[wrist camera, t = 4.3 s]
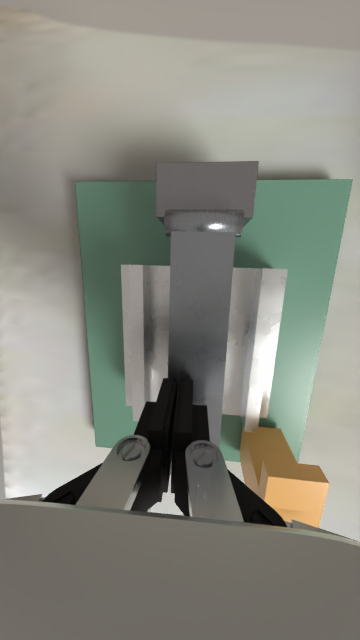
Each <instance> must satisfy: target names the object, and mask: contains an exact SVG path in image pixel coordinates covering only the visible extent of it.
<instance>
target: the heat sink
mask: <svg viewBox="0 0 360 640" xmlns="http://www.w3.org/2000/svg"><path fill="white" fill-rule="evenodd" d="M258 163H259V161H241V162H181V163H157V175H156V217H157V218H158V219H159V220H160V221H161V223H162V224H163V225H164V215H165V210H166V209H199V210H244V226H245V225H246V224H247V223H248V222H249V221H250V220H251V219H252V218H253V213H254V203H255V193H256V183H257V173H258ZM244 226H243V227H244ZM287 272H288V269H271V268H233V274H232V287H231V300H230V313H229V327H228V340H227V353H226V366H225V379H224V392H223V405H222V414H227V415H238V416H240V417H241V421H242V425H243V428H244V431H245V432H255V433H257V431H258V424H259V417H261V418H267V413H268V406H269V399H270V392H271V385H272V378H273V371H274V364H275V357H276V350H277V342H278V335H279V328H280V321H281V314H282V307H283V300H284V293H285V286H286V279H287ZM121 283H122V310H123V338H124V365H125V392H126V406H132V407H133V421H139V419H140V416H141V413H142V411H143V408H144V406H145V403H146V402H147V401H150V402H156V400H157V397H158V394H159V391H160V387H161V384H162V381H163V378H168V344H169V300H170V266H152V265H121Z"/></svg>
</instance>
